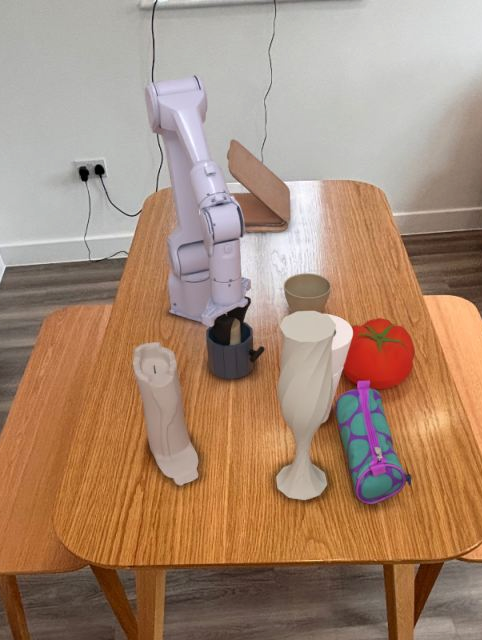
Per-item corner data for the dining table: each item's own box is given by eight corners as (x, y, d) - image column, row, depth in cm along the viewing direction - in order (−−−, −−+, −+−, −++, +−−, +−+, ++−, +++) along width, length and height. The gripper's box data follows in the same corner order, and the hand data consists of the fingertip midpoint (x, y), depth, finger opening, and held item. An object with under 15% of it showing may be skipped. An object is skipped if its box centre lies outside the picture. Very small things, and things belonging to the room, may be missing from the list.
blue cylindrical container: (200, 371, 127) (197, 339, 122) (223, 347, 132) (221, 315, 127) (249, 387, 124) (247, 354, 118) (271, 361, 129) (270, 329, 123)
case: (290, 233, 164) (291, 167, 152) (208, 234, 165) (203, 168, 152) (290, 198, 177) (291, 134, 165) (214, 198, 178) (210, 135, 166)
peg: (216, 348, 124) (215, 326, 121) (227, 337, 127) (225, 315, 123) (234, 353, 123) (233, 331, 119) (244, 342, 125) (243, 320, 122)
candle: (169, 489, 107) (151, 396, 92) (145, 438, 115) (124, 344, 100) (209, 476, 109) (198, 382, 94) (182, 427, 117) (168, 333, 102)
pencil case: (406, 505, 103) (416, 463, 96) (352, 510, 103) (357, 468, 96) (378, 420, 117) (385, 377, 110) (330, 424, 117) (334, 382, 109)
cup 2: (278, 427, 116) (279, 344, 103) (296, 392, 123) (299, 308, 109) (335, 440, 114) (343, 356, 100) (350, 403, 120) (360, 319, 106)
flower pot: (326, 330, 136) (328, 299, 130) (279, 325, 137) (279, 295, 132) (332, 304, 142) (334, 274, 137) (287, 300, 144) (287, 271, 138)
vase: (274, 464, 110) (273, 309, 87) (322, 460, 111) (333, 305, 88) (279, 502, 105) (280, 347, 82) (330, 498, 105) (344, 343, 82)
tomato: (348, 406, 120) (353, 362, 112) (328, 354, 130) (331, 311, 123) (422, 397, 121) (431, 353, 113) (396, 346, 131) (403, 303, 124)
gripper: (223, 299, 108) (228, 365, 118) (264, 260, 116) (265, 325, 127) (188, 289, 110) (196, 355, 121) (231, 252, 119) (235, 316, 129)
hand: (229, 339), depth 124 cm, fingers closed on peg, 4 cm apart
